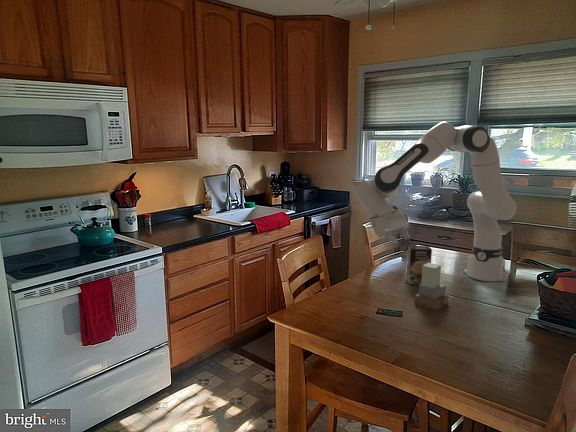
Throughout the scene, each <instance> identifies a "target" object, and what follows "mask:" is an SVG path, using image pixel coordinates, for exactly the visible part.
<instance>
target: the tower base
mask: <svg viewBox="0 0 576 432" xmlns="http://www.w3.org/2000/svg"><path fill="white" fill-rule="evenodd" d="M448 301H449V295H448V294H446V293H445V296H442V297H440V298H438V299H436V300H434V299H431V298H428V297H425V296H422V295H419V292H418V293H416V294H415V295H414V304H415V305H417V306H421V307H425V308H427V309H430V310H432V311H433V310H434V311H438V310H440V309H441V308H443V307H445V306H447V304H448Z"/></svg>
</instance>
